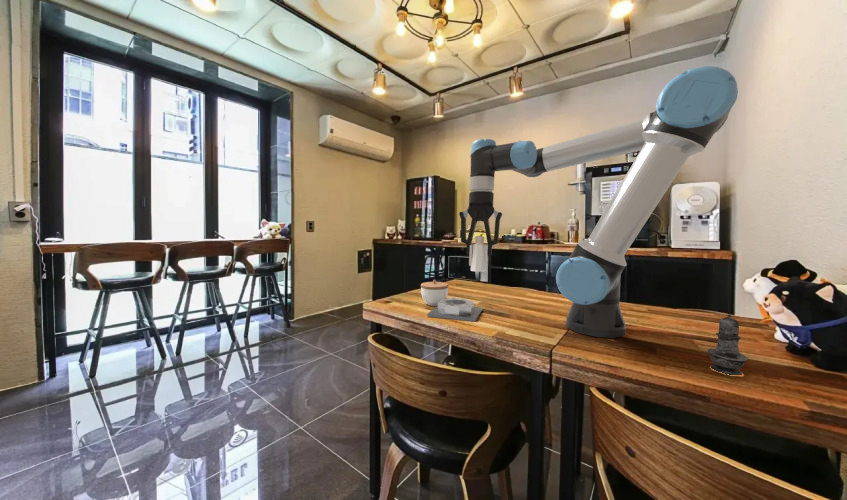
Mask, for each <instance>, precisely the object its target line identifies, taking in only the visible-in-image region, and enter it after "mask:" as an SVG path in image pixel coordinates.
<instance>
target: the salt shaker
mask: <svg viewBox="0 0 847 500" xmlns="http://www.w3.org/2000/svg"><path fill="white" fill-rule="evenodd" d="M474 238H475V243H474V244H473V245H474V247H473V255H472V263H471V266H470V271H471V272H475V273H476V272H477V273H484V272H487V267H484V262H485V246H486V244H485V243H484V242H485V241H484V240H485V236H482V235H476V236H475V237H474Z"/></svg>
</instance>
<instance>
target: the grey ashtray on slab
mask: <svg viewBox="0 0 847 500" xmlns="http://www.w3.org/2000/svg"><path fill="white" fill-rule="evenodd" d="M474 302H475V301H474V300H473V301H472V300H470V299H466V298H456V297H451V298H450V297H449V298H446V299H441V300H440V301H439V302H438V305H437V306H435V307H434V308H432V309H431V310H430V311H429V312H427V317H428V318H437V319H445V320H447V319H448V320H456V321H457V320H458V321H466V322H467V321H468V322H476V321H477V320H478V318H479V316H480V314H481V313H482V311H483V308H482V307H479V306H478V307H476V306H474Z"/></svg>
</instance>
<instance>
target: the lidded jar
mask: <svg viewBox="0 0 847 500" xmlns="http://www.w3.org/2000/svg"><path fill="white" fill-rule="evenodd" d="M420 294H421V297H422V300H423V301H424V302H425V303H426V305H427V304H428V306H433V307H434V306H435V307H436V306H437V305H438V302H439V301H440V300H441V299H448V298H447V297H448V294H449V284H448V283H446V282H441V281H437V280H436V279H433V281H427V282H422V283H421V284H420Z"/></svg>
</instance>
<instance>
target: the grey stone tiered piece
mask: <svg viewBox="0 0 847 500" xmlns="http://www.w3.org/2000/svg"><path fill="white" fill-rule="evenodd" d="M718 323H719V324H718V332H716V333H715V334H716V336H717V344H716V346H715V347H714V348H708V349H707V350H706V351H707V353H708V354H709V355H708V356H709V358H710V360H711V362H712V363H713V364H710V365H711V368H712V369H714V370H716V371H718V372H722V373H725V374H726V375H727V374H729V375H742V373H743V372H742V371H741V370H740V369H741V368H743V367H744V366H745V365H746V361H748V360H749V357H748V356H747V355H744V354H742V353H741V352H740V348H739V341H740V340H742V337H740V336H739V333H740V331H739V330H740V322H739V321H738V320H737V319H735V318H733V317H732V314H731V313H728V314H727V316H726V317H722V318H720V319H719V322H718ZM726 375H725V376H726Z"/></svg>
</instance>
